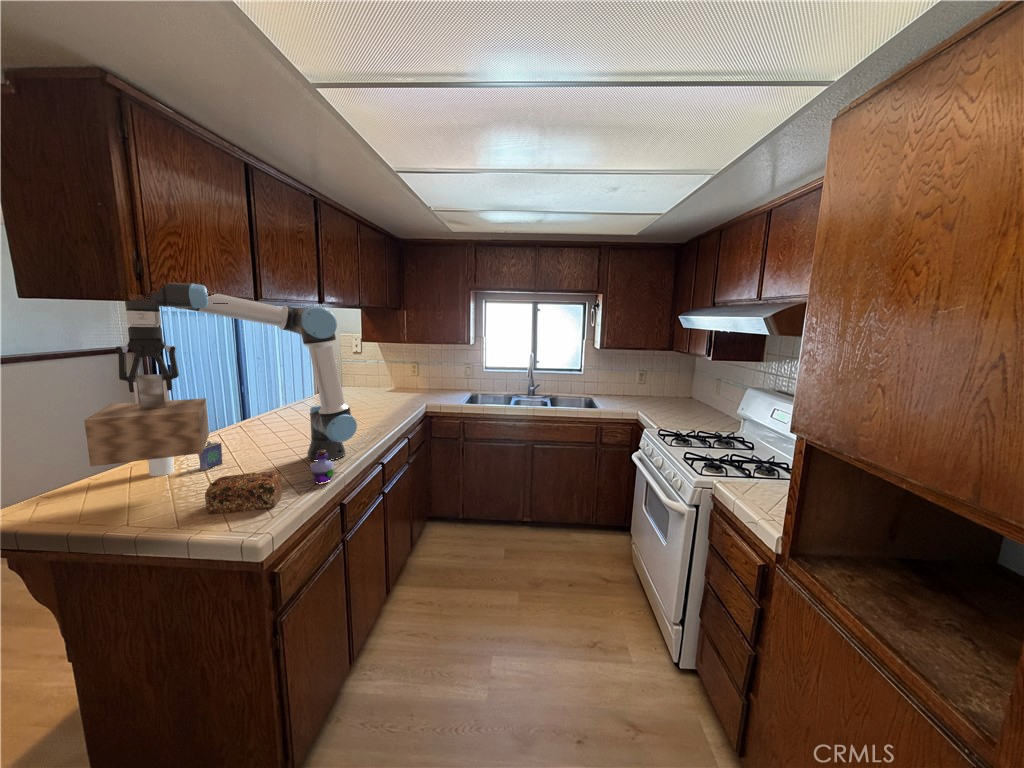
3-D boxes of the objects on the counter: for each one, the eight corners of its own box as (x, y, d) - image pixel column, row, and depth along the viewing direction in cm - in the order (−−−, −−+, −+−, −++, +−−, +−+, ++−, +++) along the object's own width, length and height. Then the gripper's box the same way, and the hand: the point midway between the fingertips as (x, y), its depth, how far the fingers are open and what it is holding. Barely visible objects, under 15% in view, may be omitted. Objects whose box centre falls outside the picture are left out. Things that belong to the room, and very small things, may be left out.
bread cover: (209, 434, 142) (203, 369, 138) (202, 453, 122) (195, 378, 118) (115, 443, 128) (106, 372, 125) (90, 466, 108) (79, 383, 105)
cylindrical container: (175, 468, 156) (169, 405, 152) (173, 474, 150) (167, 409, 147) (150, 471, 152) (144, 407, 148) (148, 477, 146) (141, 410, 143)
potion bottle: (330, 486, 143) (329, 454, 142) (305, 486, 143) (304, 454, 141) (339, 477, 152) (338, 447, 150) (315, 477, 151) (314, 446, 150)
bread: (283, 495, 135) (282, 467, 133) (274, 509, 125) (273, 479, 123) (219, 501, 129) (216, 471, 128) (204, 516, 119) (201, 484, 118)
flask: (204, 471, 154) (201, 444, 152) (197, 471, 154) (195, 444, 153) (224, 463, 163) (222, 438, 161) (218, 463, 163) (216, 437, 162)
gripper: (96, 325, 111) (106, 406, 115) (183, 326, 122) (190, 401, 125) (104, 325, 118) (113, 402, 121) (186, 326, 128) (193, 397, 131)
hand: (152, 401), depth 123 cm, fingers closed on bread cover, 6 cm apart
